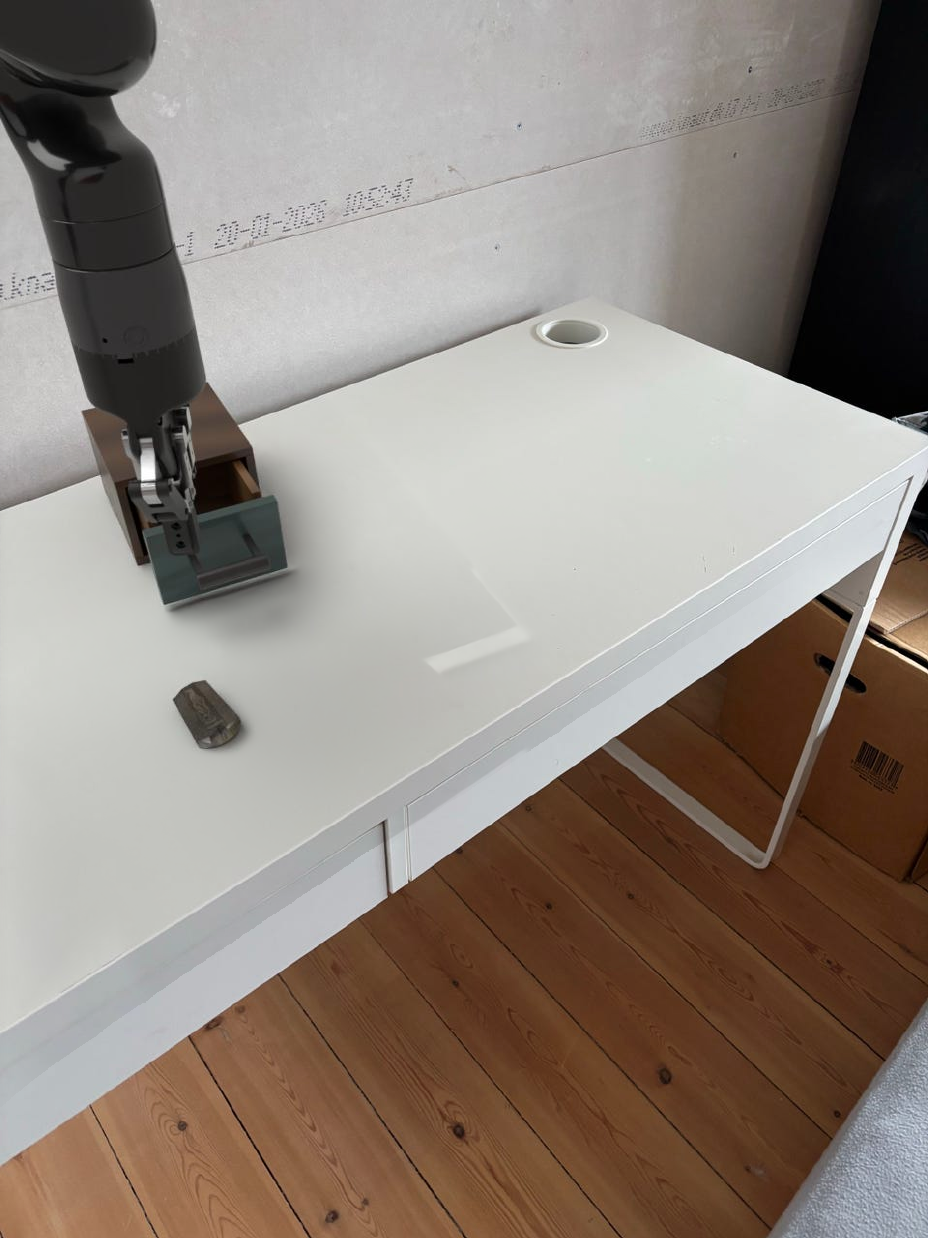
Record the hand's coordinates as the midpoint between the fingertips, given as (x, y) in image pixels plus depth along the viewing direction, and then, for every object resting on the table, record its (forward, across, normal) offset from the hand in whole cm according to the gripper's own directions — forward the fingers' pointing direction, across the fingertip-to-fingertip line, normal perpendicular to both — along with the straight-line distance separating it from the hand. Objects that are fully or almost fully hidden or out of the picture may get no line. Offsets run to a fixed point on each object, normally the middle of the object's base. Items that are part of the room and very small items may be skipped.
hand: (186, 549), depth 71 cm
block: (+13, +5, 0) cm, 14 cm away
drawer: (+12, -14, -1) cm, 19 cm away
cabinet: (+13, -25, -5) cm, 28 cm away
